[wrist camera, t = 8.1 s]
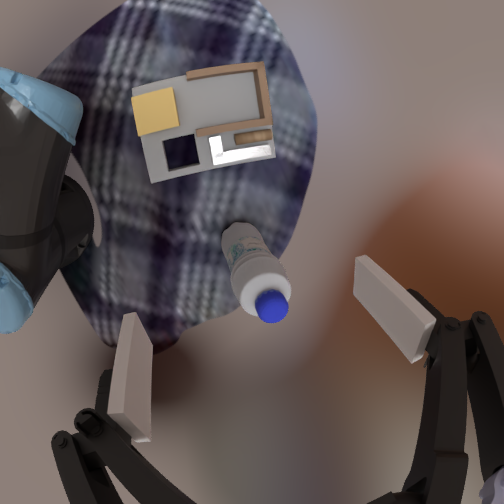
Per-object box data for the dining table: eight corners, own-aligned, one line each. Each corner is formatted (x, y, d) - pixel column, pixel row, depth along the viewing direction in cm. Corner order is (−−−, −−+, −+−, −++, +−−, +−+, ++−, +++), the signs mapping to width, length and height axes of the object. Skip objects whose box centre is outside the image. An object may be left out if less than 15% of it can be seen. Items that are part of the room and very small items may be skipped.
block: (144, 134, 33) (138, 136, 29) (138, 100, 31) (131, 97, 27) (180, 125, 34) (179, 125, 30) (174, 91, 32) (172, 86, 27)
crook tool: (212, 163, 37) (213, 165, 36) (208, 137, 36) (209, 138, 34) (268, 153, 38) (271, 154, 37) (264, 128, 37) (267, 128, 35)
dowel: (235, 145, 37) (237, 145, 35) (233, 134, 36) (235, 133, 35) (270, 139, 38) (273, 139, 36) (268, 129, 37) (271, 128, 35)
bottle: (266, 227, 46) (317, 298, 28) (246, 261, 48) (283, 344, 30) (230, 210, 43) (264, 277, 26) (210, 246, 45) (230, 330, 28)
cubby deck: (152, 180, 38) (149, 187, 34) (134, 90, 32) (127, 86, 28) (271, 155, 41) (281, 159, 37) (258, 67, 34) (267, 61, 30)
